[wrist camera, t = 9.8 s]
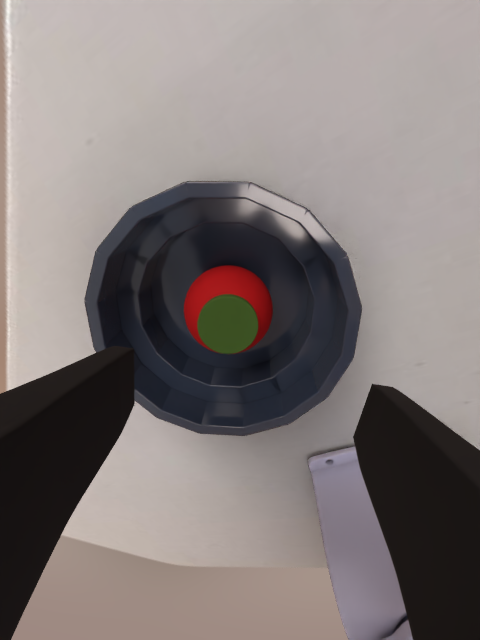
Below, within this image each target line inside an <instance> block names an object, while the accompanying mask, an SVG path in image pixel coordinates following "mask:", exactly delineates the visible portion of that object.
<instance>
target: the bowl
mask: <svg viewBox="0 0 480 640" xmlns="http://www.w3.org/2000/svg"><path fill="white" fill-rule="evenodd" d="M223 265H233V266H239V267H242V268H245V269H247V270H249V271H251V272H253V273H254V274H255V275H257V276H258V277H259V278H260V279H261V280H262V281H263V283H264V284H265V285H266V287H267V289H268V291H269V293H270V296H271V299H272V305H273V314H272V320H271V324H270V326H269V329H268V331H267V332H266V334H265V336H264V337H263V338H262V339H261V340H260V341H259V342H258V343H257V344H256V345H255V346H253V347H252V348H250V349H248V350H246V351H244V352H240V353H236V354H221V353H216V352H213V351H211V350H208V349H207V348H205V347H203V346H202V345H201V344H199V343H198V342H197V341H196V340H195V338H194V337H193V336H192V335H191V333H190V331H189V330H188V327H187V325H186V321H185V317H184V302H185V298H186V295H187V292H188V290H189V288H190V286H191V285H192V283H193V282H194V281H195V280H196V279H197V278H198V277H199V276H200V275H201V274H203V273H204V272H206V271H207V270H209V269H211V268H214V267H218V266H223ZM85 306H86V311H87V316H88V322H89V327H90V332H91V337H92V342H93V347H94V350H95V351H96V353H97V352H99V351H102V350H104V349H107V348H109V347H112V346H120V347H127V348H134V400H135V401H136V402H137V403H139V404H140V405H141V406H142V407H144V408H145V409H146V410H148V411H149V412H150V413H151V414H153V415H154V416H155V417H157V418H159V419H162V420H164V421H167V422H170V423H172V424H175V425H178V426H180V427H183V428H186V429H188V430H191V431H194V432H196V433H200V434H217V435H236V436H245V435H250V434H254V433H258V432H261V431H265V430H269V429H273V428H276V427H280V426H284V425H288V424H290V423H291V422H293V421H294V420H296V419H297V418H299V417H300V416H302V415H303V414H305V413H306V412H308V411H309V410H310V409H312V408H313V407H315V406H316V405H318V404H319V403H321V402H322V401H324V400H325V399H326V398H327V397H328V396H329V394H330V393H331V391H332V390H333V388H334V387H335V385H336V384H337V382H338V381H339V379H340V378H341V376H342V375H343V373H344V372H345V371H346V369H347V368H348V366H349V365H350V363H351V362H352V360H353V358H354V353H355V348H356V342H357V336H358V330H359V324H360V319H361V313H362V305H361V302H360V298H359V294H358V291H357V287H356V284H355V280H354V276H353V273H352V269H351V265H350V262H349V258H348V256H347V254H346V252H345V251H344V250H343V249H342V248H341V247H340V245H339V244H338V243H337V242H336V241H335V240H334V238H333V237H332V236H331V235H330V234H329V232H328V231H327V230H326V229H325V228H324V227H323V225H322V224H321V223H320V222H319V221H318V220H317V218H316V217H315V216H314V215H313V214H312V213H311V211H310V210H308V209H307V208H305V207H303V206H301V205H299V204H297V203H295V202H293V201H290V200H288V199H286V198H284V197H282V196H280V195H277V194H275V193H273V192H271V191H269V190H267V189H265V188H262V187H260V186H258V185H256V184H254V183H252V182H231V181H187V182H183V183H181V184H179V185H176V186H174V187H172V188H170V189H168V190H166V191H163V192H161V193H159V194H157V195H155V196H153V197H151V198H148V199H146V200H144V201H142V202H140V203H138V204H135V205H133V206H132V207H131V208H129V209H128V211H127V212H126V213H125V214H124V216H123V217H122V218H121V219H120V221H119V222H118V223H117V224H116V226H115V227H114V228H113V229H112V231H111V232H110V233H109V234H108V235H107V237H106V238H105V239H104V240H103V242H102V243H101V244H100V245H99V247H98V248H97V250H96V252H95V256H94V260H93V265H92V269H91V273H90V278H89V282H88V286H87V291H86V295H85Z"/></svg>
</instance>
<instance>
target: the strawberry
mask: <svg viewBox="0 0 480 640" xmlns="http://www.w3.org/2000/svg"><path fill="white" fill-rule="evenodd" d="M272 314H273V305H272V299H271V296H270V293H269V291H268V289H267V287H266V285H265V284H264V283H263V281H262V280H261V279H260V278H259V277H258V276H257V275H255V274H254V273H253V272H251V271H249V270H247V269H245V268H242V267H239V266H233V265H223V266H218V267H214V268H211V269H209V270H207V271H206V272H204V273H203V274H201V275H200V276H199V277H198V278H197V279H196V280H195V281H194V282H193V283H192V285H191V286H190V288H189V290H188V292H187V295H186V298H185V302H184V317H185V321H186V325H187V327H188V330H189V331H190V333H191V335H192V336H193V337H194V338H195V340H196V341H197V342H198V343H199V344H201V345H202V346H203V347H205V348H207V349H208V350H211V351H213V352H216V353H221V354H236V353H240V352H244V351H246V350H248V349H250V348H252V347H253V346H255V345H256V344H257V343H258V342H259V341H260V340H261V339H262V338H263V337H264V336H265V334H266V332H267V331H268V329H269V326H270V324H271V320H272Z"/></svg>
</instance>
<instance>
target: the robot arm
mask: <svg viewBox="0 0 480 640" xmlns="http://www.w3.org/2000/svg"><path fill="white" fill-rule="evenodd" d="M133 406H134V348H127V347H120V346H112V347H109V348H107V349H104V350H102V351H99V352H97V353H95V354H93V355H90V356H88V357H86V358H84V359H82V360H79V361H77V362H75V363H73V364H71V365H68V366H66V367H64V368H62V369H59V370H57V371H55V372H53V373H50V374H48V375H46V376H43V377H41V378H38V379H36V380H33V381H31V382H29V383H26V384H24V385H21V386H19V387H16V388H14V389H12V390H9V391H6V392H4V393H1V394H0V640H11V638H12V636H13V634H14V631H15V629H16V627H17V625H18V623H19V620H20V618H21V616H22V614H23V612H24V610H25V608H26V606H27V604H28V602H29V599H30V597H31V595H32V593H33V591H34V589H35V587H36V585H37V583H38V580H39V578H40V576H41V574H42V572H43V570H44V568H45V566H46V564H47V562H48V560H49V558H50V556H51V554H52V552H53V550H54V548H55V546H56V544H57V542H58V540H59V538H60V536H61V534H62V532H63V530H64V528H65V526H66V524H67V522H68V520H69V519H70V517H71V515H72V513H73V512H74V510H75V508H76V506H77V505H78V503H79V501H80V500H81V498H82V496H83V495H84V493H85V492H86V490H87V488H88V487H89V485H90V483H91V482H92V480H93V479H94V477H95V475H96V474H97V472H98V471H99V469H100V467H101V466H102V464H103V462H104V461H105V459H106V458H107V456H108V454H109V453H110V451H111V449H112V448H113V446H114V445H115V443H116V441H117V440H118V438H119V436H120V434H121V433H122V431H123V428H124V426H125V424H126V422H127V420H128V418H129V415H130V413H131V411H132V408H133ZM353 438H354V443H355V446H354V447H350V448H345V449H341V450H337V451H333V452H329V453H325V454H321V455H316V456H312V457H310V458H309V459H308V466H309V469H310V471H311V474H312V480H313V486H314V491H315V497H316V503H317V509H318V514H319V520H320V526H321V531H322V537H323V543H324V548H325V554H326V559H327V564H328V569H329V573H330V578H331V582H332V586H333V590H334V594H335V598H336V602H337V606H338V609H339V613H340V616H341V620H342V623H343V626H344V629H345V631H346V634H347V637H348V639H349V640H480V450H478V449H477V448H476V447H474V446H473V445H471V444H470V443H469V442H467V441H466V440H465V439H463V438H462V437H461V436H459V435H458V434H456V433H455V432H454V431H452V430H451V429H450V428H448V427H447V426H446V425H444V424H443V423H442V422H440V421H439V420H438V419H436V418H435V417H434V416H433V415H431V414H430V413H429V412H427V411H426V410H425V409H423V408H422V407H421V406H419V405H418V404H417V403H415V402H414V401H412V400H411V399H410V398H408V397H407V396H406V395H404V394H403V393H401V392H400V391H398V390H397V389H395V388H393V387H388V386H382V385H375V384H372V386H371V389H370V391H369V394H368V397H367V400H366V403H365V405H364V408H363V411H362V414H361V417H360V420H359V422H358V425H357V428H356V431H355V434H354V436H353ZM328 459H331V460H328Z"/></svg>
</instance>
